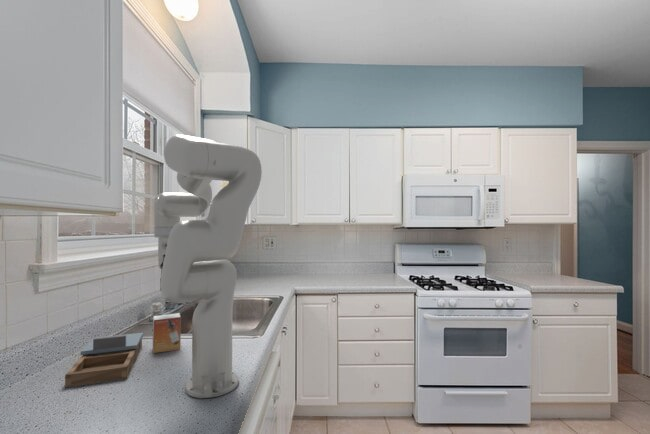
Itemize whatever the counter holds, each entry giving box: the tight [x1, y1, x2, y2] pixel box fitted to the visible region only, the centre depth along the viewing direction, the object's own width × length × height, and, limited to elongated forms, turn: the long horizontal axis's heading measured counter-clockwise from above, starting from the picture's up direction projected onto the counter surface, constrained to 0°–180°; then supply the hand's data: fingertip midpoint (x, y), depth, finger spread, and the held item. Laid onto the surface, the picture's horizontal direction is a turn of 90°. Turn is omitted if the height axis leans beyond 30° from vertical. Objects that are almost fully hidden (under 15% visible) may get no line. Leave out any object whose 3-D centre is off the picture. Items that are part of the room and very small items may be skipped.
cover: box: [80, 332, 144, 356], centre depth 103 cm, size 12×14×4 cm
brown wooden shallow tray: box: [64, 338, 143, 388], centre depth 97 cm, size 24×13×3 cm, turn 20°
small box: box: [152, 312, 182, 354], centre depth 109 cm, size 8×6×10 cm
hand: (167, 288), depth 109 cm, fingers open, 5 cm apart
